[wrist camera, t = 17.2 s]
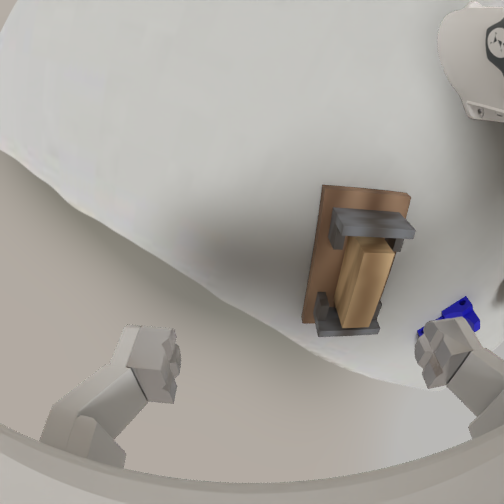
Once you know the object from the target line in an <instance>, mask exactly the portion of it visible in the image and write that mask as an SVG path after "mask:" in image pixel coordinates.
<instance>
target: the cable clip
mask: <svg viewBox="0 0 504 504" xmlns="http://www.w3.org/2000/svg"><path fill="white" fill-rule="evenodd" d="M456 317H463V318H465V319H466V321H467V322H468V324H469V325H470V327H471V329H472V330H473V331H474V332H476V331H477V330H479V329H480V320H479V318H478V317H477V315H476V314H475V312H474V311H473V306H472V304H471V302H470V301H469V300H468V298H467V297H466V296H465V297H463V298H462V299H460V300H459V301H457V302H456V303H454V304H453V305H451V306H450V307H448V308H446V309H445V310H443V311H442V316H441V317H440V318H438V319H436V320H441V319H448V318H456ZM423 328H424V327H423ZM423 328H421V329H419V330H418V331H417V332H418V335H419V337H421V336H422V335H423V334H424V331H423Z"/></svg>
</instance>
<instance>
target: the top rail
mask: <svg viewBox="0 0 504 504" xmlns="http://www.w3.org/2000/svg"><path fill="white" fill-rule="evenodd" d="M394 254H395V253H394V252H393V251H392V249H391V248H390V246H389V245H388V243H387V242H386V241H385V239H384V238H381V237H360V236H348V239H347V244H346V249H345V253H344V258H343V262H342V266H341V271H340V275H339V279H338V283H337V287H336V291H335V295H334V299H333V300H334V303H335V306H336V309H337V313H338V316H339V319H340V323H341V326H342V328H360V327H369V325H370V323H371V320H372V318H373V315H374V312H375V310H376V307H377V304H378V302H379V299H380V296H381V293H382V291H383V288H384V285H385V282H386V279H387V276H388V273H389V270H390V267H391V264H392V261H393V257H394Z"/></svg>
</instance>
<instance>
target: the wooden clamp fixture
mask: <svg viewBox="0 0 504 504" xmlns="http://www.w3.org/2000/svg"><path fill="white" fill-rule="evenodd" d="M410 199H411V197H410V196H409V195H408V194H407V193H403V192H394V191H385V190H376V189H366V188H355V187H344V186H331V185H322V193H321V201H320V208H319V215H318V222H317V229H316V236H315V242H314V248H313V255H312V261H311V267H310V273H309V278H308V284H307V290H306V295H305V301H304V306H303V311H302V323H315V324H316V329H317V334H318V337H330V336H354V335H371V334H378V333H379V330H380V327H379V324H378V322H377V316H378V314H379V311H380V309H381V306H382V303H381V301H380V299H381V296H382V294H383V291H384V288H385V285H386V282H387V279H388V276H389V273H390V270H391V267H392V264H393V261H394V258H395V254H396V252H400V251H401V248H402V244H403V241H404V239H413V238H414V234H415V231H416V230H415V229H414V228H413V227H412V226H411V225H410V223H409V222H408V221H407V220H406V216H407V212H408V208H409V204H410ZM348 236H360V237H381V238H384V239H385V241H386V242H387V243H388V245H389V246H390V248H391V249H392V251H393V252H394V253H395V254H394V257H393V261H392V264H391V267H390V270H389V273H388V276H387V279H386V282H385V285H384V288H383V291H382V293H381V296H380V299H379V302H378V304H377V307H376V310H375V312H374V315H373V318H372V320H371V323H370V325H369V327H360V328H342V326H341V323H340V319H339V316H338V313H337V309H336V306H335V303H334V300H333V299H334V295H335V291H336V287H337V283H338V279H339V275H340V271H341V266H342V262H343V258H344V253H345V249H346V244H347V239H348Z"/></svg>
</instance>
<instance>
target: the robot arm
mask: <svg viewBox="0 0 504 504" xmlns="http://www.w3.org/2000/svg"><path fill="white" fill-rule="evenodd" d="M437 46H438V53H439V58H440V62H441V65H442V67H443V70H444V72H445V74H446V76H447V78H448V80H449V82H450V83H451V85H452V86H453V88H454V89H455V90H456V92H457V93H458V94H459V96H460V98H461V100H462V103H463V106H464V109H465V112H466V114H467V116H468V117H469V118H471V119H478V120H488V121H496V122H503V123H504V7H483V6H482V5H481V4H480V3H478V2H476V1H471V2H469V3H468V4H467V5H466V6H465V7H464V9H461V10H457V11H453V12H451V13H449V14H448V15H447V16H445V18H444V19H443V20H442V22H441V24H440V27H439V30H438V36H437ZM478 109H479V113H478ZM423 331H424V334H423V335H422V336H421V337H419V338H418V340H417V342H416V344H415V352H414V353H415V358H416V361H417V363H418V365H420V366H421V367H422V368H423V372H422V375H423V378H424V380H425V383H426V385H427V388H428V389H430V388H434V387H439V386H444V385H447V387H448V388H449V389H450V390H451V391H452V392H453V393H454V394H455V395H456V396H457V397H458V398H459V399H460V400H461V401H462V402H463V403H464V404H465V405H466V406H467V407H468V408H469V409H470V410H471V411H472V412H473V413H474V414H475V415H476V416H477V418H476V419H475V420H474V421H473V422H471V423H470V425H469V427H468V428H469V431H470V433H471V436H472V440H469V441H467V442H464V443H462V444H460V445H457V446H455V447H452V448H449V449H446V450H444V451H441V452H438V453H435V454H432V455H429V456H426V457H423V458H420V459H416V460H413V461H409V462H406V463H402V464H399V465H395V466H391V467H387V468H383V469H378V470H373V471H369V472H364V473H359V474H353V475H347V476H341V477H334V478H327V479H318V480H308V481H296V482H280V483H226V482H209V481H198V480H187V479H180V478H172V477H165V476H159V475H153V474H148V473H142V472H137V471H133V470H128V469H124V463H125V458H126V453H125V451H124V450H123V449H122V448H121V447H120V446H119V445H118V444H117V443H116V442H115V441H114V439H115V438H116V437H117V436H118V435H119V434H120V433H121V432H122V431H123V429H124V428H125V427H126V426H127V425H128V424H129V423H130V422H131V421H132V420H133V419H134V418H135V416H136V415H137V414H138V413H139V412H140V411H141V410H142V409H143V408H144V407H145V406H146V404H147V403H148V402H147V401H150V402H159V403H171V404H174V399H175V394H176V389H177V385H176V382H175V378H176V377H177V376H178V375H179V373H180V367H181V354H180V348H179V346H178V345H177V344H175V342H176V338H177V336H176V333H175V330H174V329H171V328H161V327H149V326H138V325H128V324H127V325H126V326H125V327H124V329H123V331H122V334H121V337H120V339H119V341H118V344H117V346H116V349H115V352H114V354H113V357H112V359H111V362H110V364H109V365H104V366H102V367H101V368H100V369H99V370H97V371H96V372H95V373H93V374H92V375H91V376H90V377H88V378H87V379H86V380H84V381H83V382H82V383H81V384H79V385H78V386H77V387H75V388H74V389H73V390H72V391H70V392H69V393H68V394H66V395H65V396H64V397H63V398H61V399H60V400H59V401H58V402H56V403H55V404H54V405H53V406H52V408H51V411H50V413H49V416H48V418H47V421H46V424H45V426H44V429H43V432H42V435H41V438H40V440H39V441H37V440H35V439H32V438H30V437H28V436H25V435H23V434H21V433H19V432H17V431H15V430H12V429H11V428H8V427H6V426H5V425H2V424H0V504H504V360H503V359H501V358H500V357H498V356H497V355H496V354H494V353H493V352H491V351H490V350H488V349H487V348H483V347H482V345H481V343H480V342H479V340H478V338H477V337H476V335H475V333H474V332H473V330H472V329H471V327H470V325H469V324H468V322H467V321H466V319H465V318H463V317H456V318H448V319H441V320H434V321H429V322H428V323H426V325H425V326H424V328H423Z"/></svg>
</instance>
